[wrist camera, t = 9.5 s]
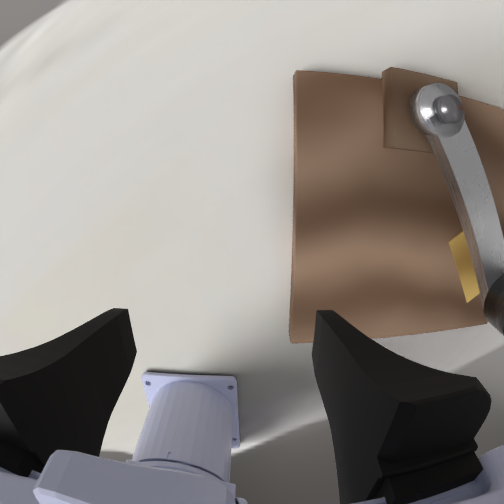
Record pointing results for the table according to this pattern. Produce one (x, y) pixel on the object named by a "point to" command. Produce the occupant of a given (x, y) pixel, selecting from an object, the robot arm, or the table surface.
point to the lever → (465, 189)
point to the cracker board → (381, 208)
